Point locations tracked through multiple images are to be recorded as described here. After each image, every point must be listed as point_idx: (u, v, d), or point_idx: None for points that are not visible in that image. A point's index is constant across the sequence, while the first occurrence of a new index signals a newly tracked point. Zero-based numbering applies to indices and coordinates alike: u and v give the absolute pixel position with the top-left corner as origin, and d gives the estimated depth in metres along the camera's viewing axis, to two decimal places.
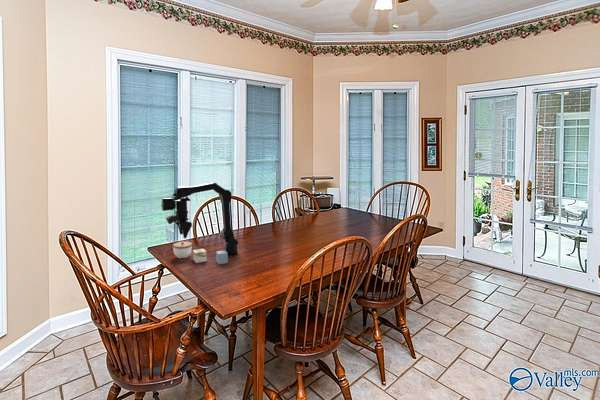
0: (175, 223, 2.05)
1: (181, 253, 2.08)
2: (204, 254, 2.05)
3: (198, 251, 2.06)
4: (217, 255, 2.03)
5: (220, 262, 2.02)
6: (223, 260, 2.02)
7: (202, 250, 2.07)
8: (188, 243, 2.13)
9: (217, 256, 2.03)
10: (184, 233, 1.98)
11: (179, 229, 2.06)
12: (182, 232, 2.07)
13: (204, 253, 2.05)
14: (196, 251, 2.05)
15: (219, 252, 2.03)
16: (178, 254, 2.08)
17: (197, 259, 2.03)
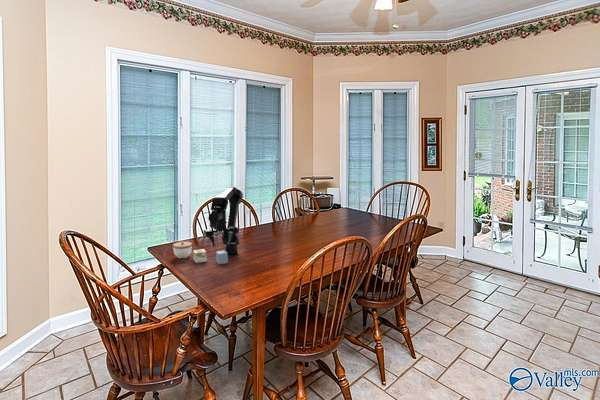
0: (228, 232, 2.07)
1: (181, 253, 2.08)
2: (204, 254, 2.05)
3: (198, 251, 2.06)
4: (217, 255, 2.03)
5: (220, 262, 2.02)
6: (223, 260, 2.02)
7: (202, 250, 2.07)
8: (188, 243, 2.13)
9: (217, 256, 2.03)
10: (211, 242, 2.00)
11: (228, 239, 2.06)
12: (229, 243, 2.05)
13: (204, 253, 2.05)
14: (196, 251, 2.05)
15: (219, 252, 2.03)
16: (178, 254, 2.08)
17: (197, 259, 2.03)
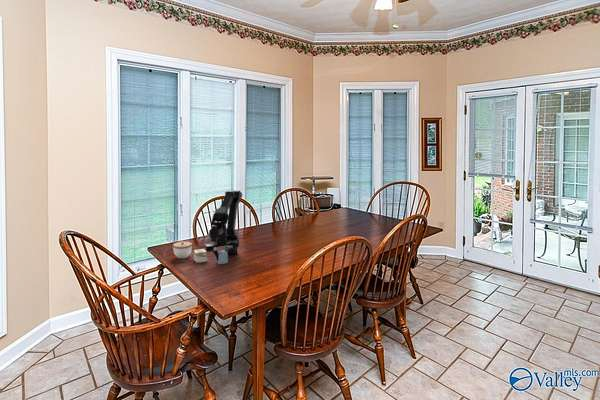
0: (225, 247, 2.07)
1: (181, 253, 2.08)
2: (204, 254, 2.05)
3: (199, 251, 2.06)
4: None
5: (220, 262, 2.02)
6: (223, 259, 2.02)
7: (203, 250, 2.07)
8: (188, 243, 2.13)
9: None
10: (215, 256, 2.02)
11: None
12: None
13: (204, 253, 2.05)
14: (196, 251, 2.05)
15: (219, 252, 2.03)
16: (178, 254, 2.08)
17: (198, 259, 2.03)
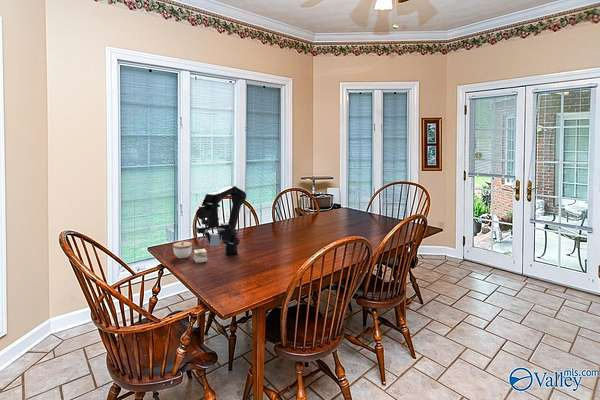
0: None
1: (181, 253, 2.08)
2: (204, 254, 2.05)
3: (198, 251, 2.06)
4: None
5: (212, 244, 2.01)
6: (215, 242, 2.01)
7: (203, 250, 2.07)
8: (188, 243, 2.13)
9: None
10: None
11: None
12: None
13: (204, 253, 2.05)
14: (196, 251, 2.05)
15: (211, 234, 2.02)
16: (178, 254, 2.08)
17: (197, 259, 2.03)
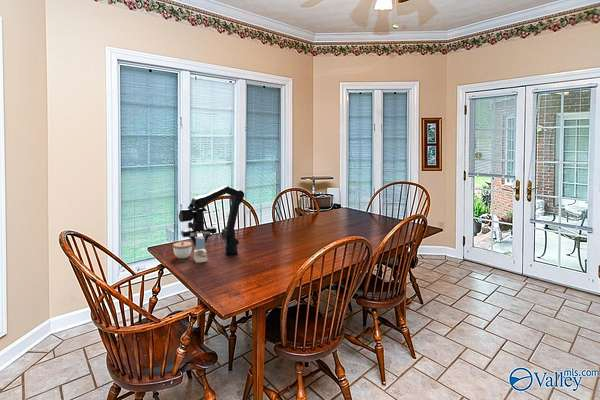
0: (203, 233, 2.09)
1: (181, 253, 2.08)
2: (204, 254, 2.05)
3: (199, 251, 2.06)
4: None
5: (197, 248, 2.03)
6: (200, 245, 2.04)
7: (203, 250, 2.07)
8: (188, 243, 2.13)
9: (195, 242, 2.04)
10: (192, 241, 2.04)
11: None
12: None
13: (204, 253, 2.05)
14: (196, 251, 2.05)
15: (197, 238, 2.04)
16: (178, 254, 2.08)
17: (198, 259, 2.03)
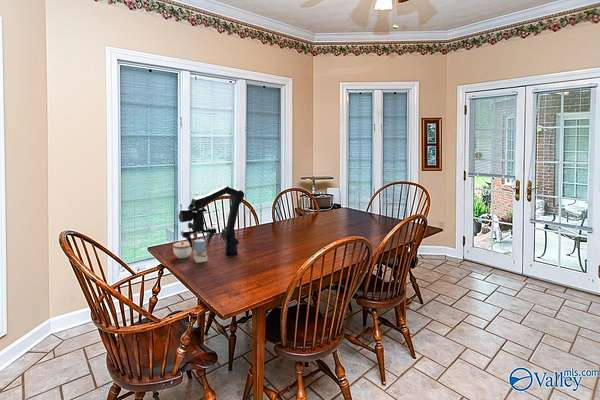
0: None
1: (181, 253, 2.08)
2: (204, 254, 2.05)
3: None
4: (195, 244, 2.04)
5: (198, 250, 2.03)
6: (201, 248, 2.04)
7: None
8: (188, 243, 2.13)
9: (195, 245, 2.05)
10: (189, 242, 2.03)
11: None
12: (207, 243, 2.07)
13: (204, 253, 2.05)
14: None
15: (197, 241, 2.05)
16: (178, 254, 2.08)
17: (198, 259, 2.04)
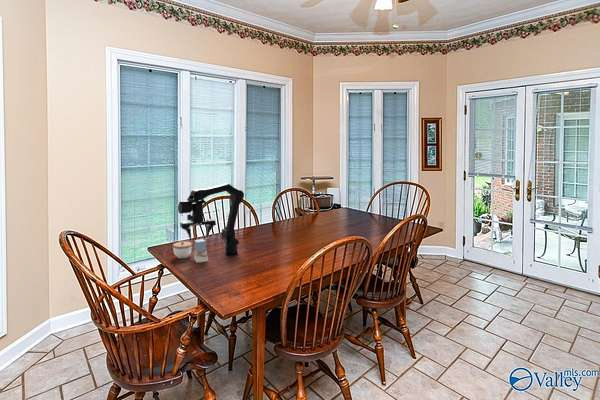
0: None
1: (181, 253, 2.08)
2: (205, 254, 2.05)
3: None
4: (195, 243, 2.04)
5: (198, 250, 2.03)
6: (201, 248, 2.04)
7: None
8: (188, 243, 2.13)
9: (195, 244, 2.05)
10: (188, 234, 2.02)
11: (206, 232, 2.08)
12: (206, 236, 2.06)
13: (205, 253, 2.05)
14: None
15: (197, 240, 2.05)
16: (178, 254, 2.08)
17: (198, 259, 2.04)
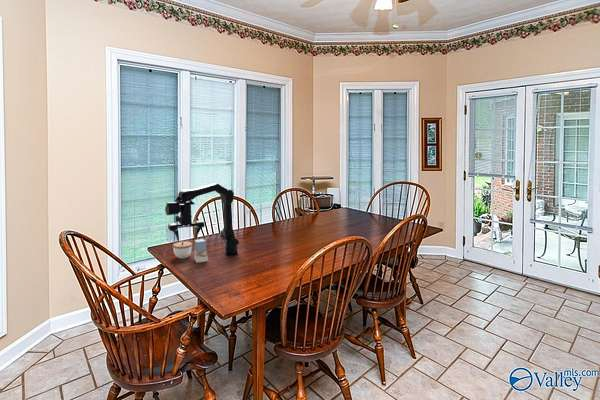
0: None
1: (181, 253, 2.08)
2: (204, 254, 2.05)
3: None
4: (195, 243, 2.04)
5: (198, 250, 2.03)
6: (201, 248, 2.04)
7: None
8: (188, 243, 2.13)
9: (195, 244, 2.05)
10: (176, 236, 1.98)
11: None
12: (195, 237, 2.02)
13: (204, 253, 2.05)
14: None
15: (197, 240, 2.05)
16: (178, 254, 2.08)
17: (198, 259, 2.04)
